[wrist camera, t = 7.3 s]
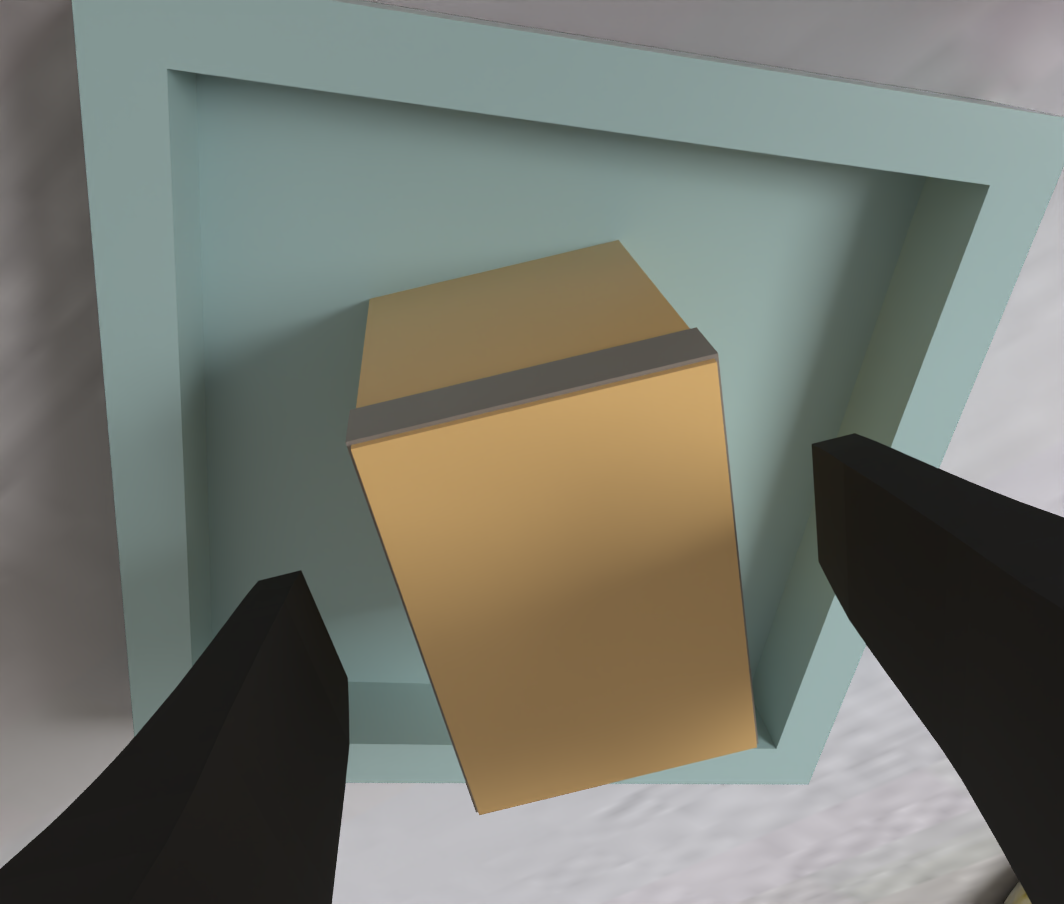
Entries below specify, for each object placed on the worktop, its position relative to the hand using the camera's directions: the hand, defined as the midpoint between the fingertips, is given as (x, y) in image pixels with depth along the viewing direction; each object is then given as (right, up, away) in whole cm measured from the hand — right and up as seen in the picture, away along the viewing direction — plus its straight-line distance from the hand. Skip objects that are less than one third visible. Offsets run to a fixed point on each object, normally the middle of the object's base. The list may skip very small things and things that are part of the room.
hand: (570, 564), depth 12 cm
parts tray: (-1, +2, +4) cm, 4 cm away
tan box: (-1, +2, +3) cm, 4 cm away
